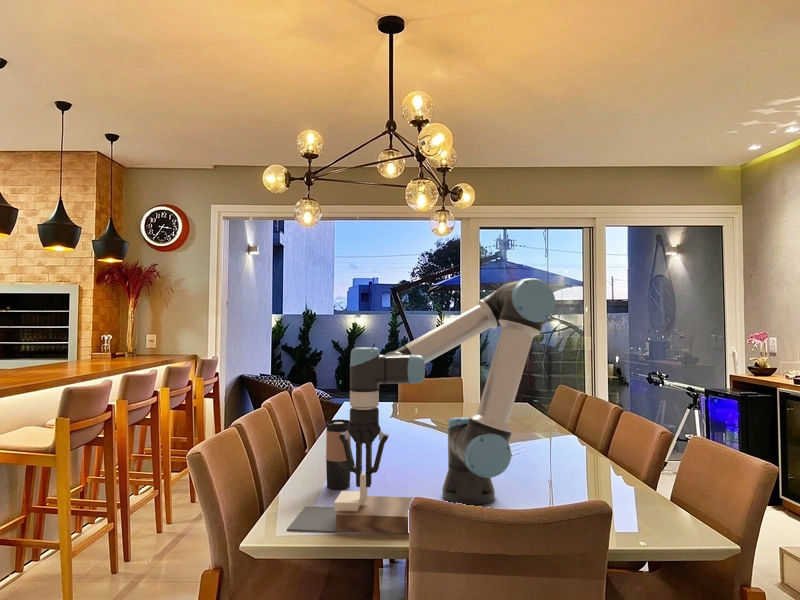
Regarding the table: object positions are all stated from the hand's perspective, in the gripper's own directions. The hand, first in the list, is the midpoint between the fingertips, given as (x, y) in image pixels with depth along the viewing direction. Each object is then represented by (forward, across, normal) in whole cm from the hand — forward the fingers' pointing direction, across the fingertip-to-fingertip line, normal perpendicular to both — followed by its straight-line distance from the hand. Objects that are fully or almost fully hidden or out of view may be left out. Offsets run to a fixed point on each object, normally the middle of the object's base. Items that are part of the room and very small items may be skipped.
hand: (363, 499), depth 133 cm
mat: (+6, +12, 0) cm, 13 cm away
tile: (+1, +4, 0) cm, 4 cm away
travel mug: (+6, +12, -27) cm, 30 cm away
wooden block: (+5, -4, 0) cm, 7 cm away
